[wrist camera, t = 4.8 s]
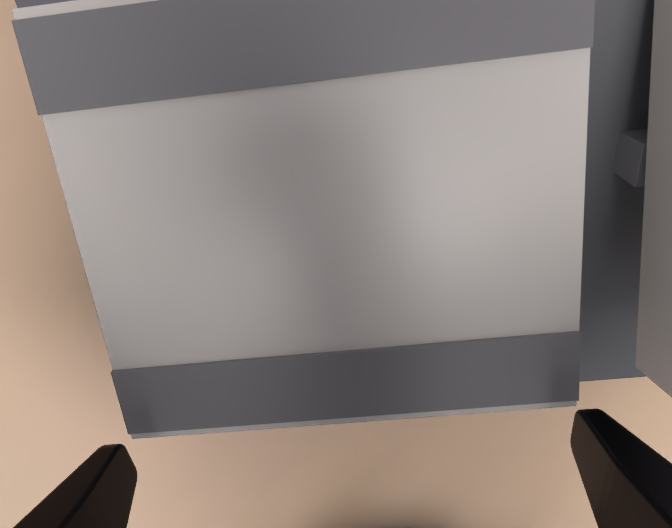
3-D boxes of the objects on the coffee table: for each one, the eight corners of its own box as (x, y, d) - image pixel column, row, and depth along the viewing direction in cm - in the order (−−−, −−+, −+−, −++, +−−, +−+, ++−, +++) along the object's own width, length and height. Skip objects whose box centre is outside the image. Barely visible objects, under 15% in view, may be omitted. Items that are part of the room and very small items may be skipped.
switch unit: (870, 304, 17) (986, 376, 14) (197, 361, 18) (169, 436, 15) (1213, -333, 9) (1634, -484, 6) (24, -142, 11) (-97, -188, 8)
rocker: (547, 368, 12) (577, 408, 10) (158, 399, 13) (130, 441, 11) (556, -43, 9) (598, -75, 8) (63, 24, 10) (8, 7, 8)
